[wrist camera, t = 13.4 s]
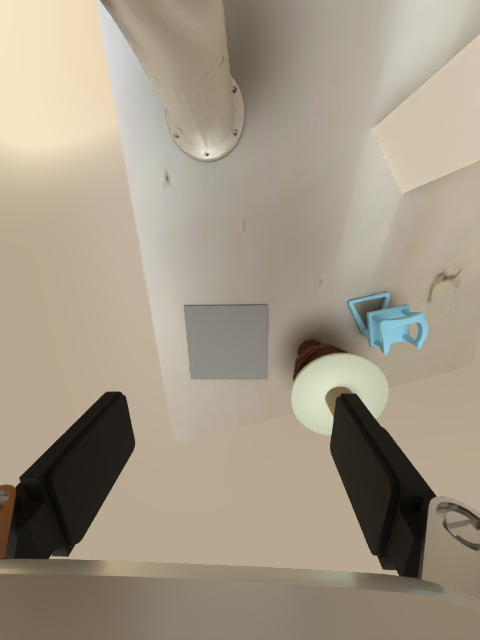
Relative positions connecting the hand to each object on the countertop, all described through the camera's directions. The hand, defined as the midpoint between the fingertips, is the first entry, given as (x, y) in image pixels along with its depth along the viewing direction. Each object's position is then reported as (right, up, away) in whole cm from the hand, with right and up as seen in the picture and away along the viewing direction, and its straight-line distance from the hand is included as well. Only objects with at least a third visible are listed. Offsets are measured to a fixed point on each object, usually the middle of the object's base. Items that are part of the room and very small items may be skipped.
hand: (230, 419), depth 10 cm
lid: (+15, -7, +24) cm, 29 cm away
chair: (+27, +5, +35) cm, 45 cm away
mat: (-2, -1, +38) cm, 38 cm away
